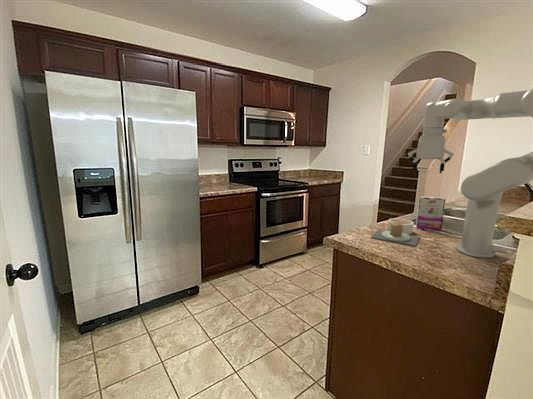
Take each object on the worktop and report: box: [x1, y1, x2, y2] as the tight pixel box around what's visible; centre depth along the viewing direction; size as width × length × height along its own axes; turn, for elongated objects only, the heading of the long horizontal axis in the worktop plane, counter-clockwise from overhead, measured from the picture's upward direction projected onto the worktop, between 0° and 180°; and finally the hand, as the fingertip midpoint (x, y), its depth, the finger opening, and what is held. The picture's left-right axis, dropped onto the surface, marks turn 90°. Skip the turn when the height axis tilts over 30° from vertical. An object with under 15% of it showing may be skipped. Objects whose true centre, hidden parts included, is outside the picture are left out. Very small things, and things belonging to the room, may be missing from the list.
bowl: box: [387, 218, 415, 235], centre depth 132 cm, size 11×11×5 cm
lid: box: [381, 223, 410, 242], centre depth 121 cm, size 12×12×6 cm
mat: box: [371, 229, 420, 248], centre depth 122 cm, size 18×13×1 cm
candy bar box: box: [415, 195, 446, 232], centre depth 135 cm, size 11×5×16 cm, turn 68°
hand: (427, 172), depth 118 cm, fingers open, 9 cm apart
